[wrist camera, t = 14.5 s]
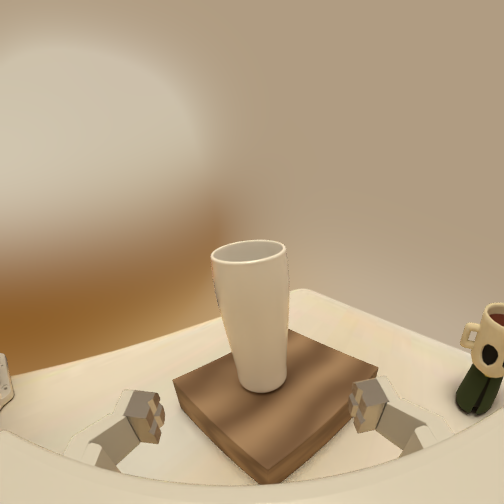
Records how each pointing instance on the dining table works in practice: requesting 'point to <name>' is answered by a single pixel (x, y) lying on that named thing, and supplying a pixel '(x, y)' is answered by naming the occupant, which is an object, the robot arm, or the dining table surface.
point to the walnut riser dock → (274, 407)
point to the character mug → (483, 360)
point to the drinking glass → (254, 309)
